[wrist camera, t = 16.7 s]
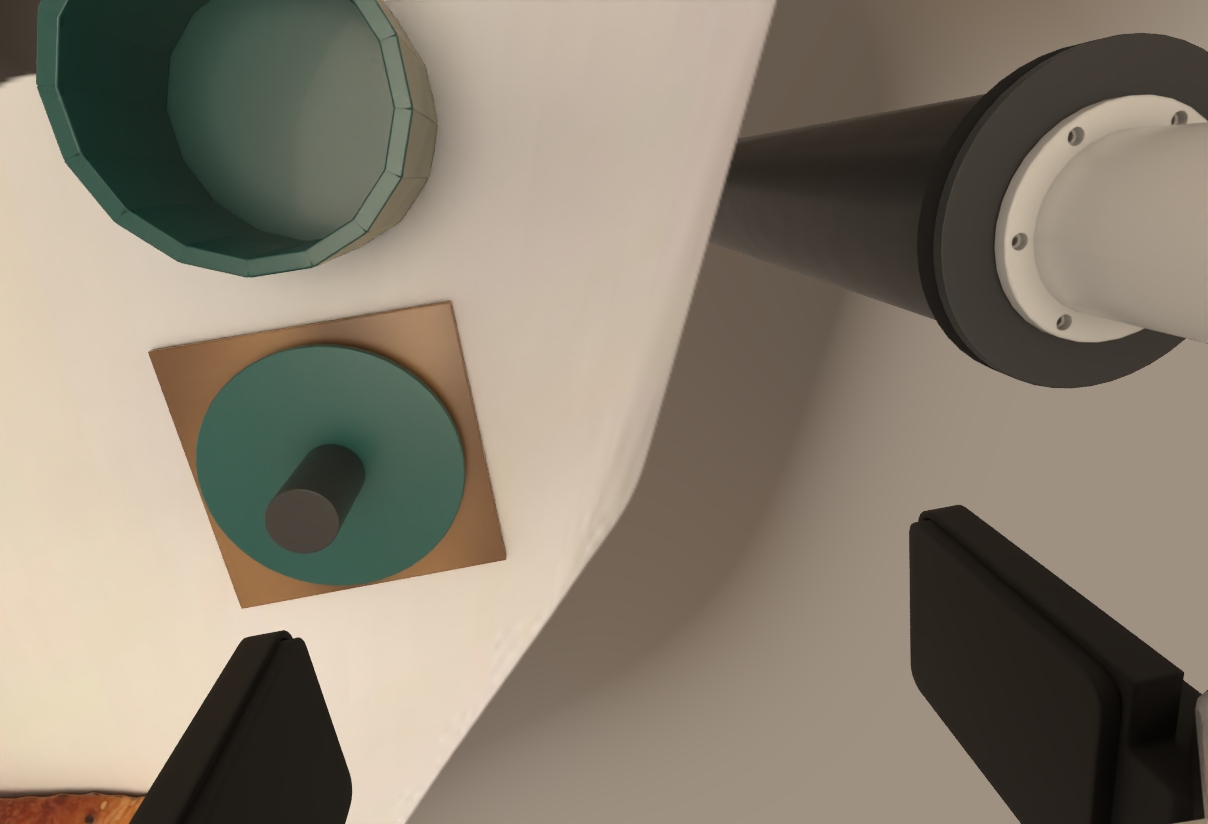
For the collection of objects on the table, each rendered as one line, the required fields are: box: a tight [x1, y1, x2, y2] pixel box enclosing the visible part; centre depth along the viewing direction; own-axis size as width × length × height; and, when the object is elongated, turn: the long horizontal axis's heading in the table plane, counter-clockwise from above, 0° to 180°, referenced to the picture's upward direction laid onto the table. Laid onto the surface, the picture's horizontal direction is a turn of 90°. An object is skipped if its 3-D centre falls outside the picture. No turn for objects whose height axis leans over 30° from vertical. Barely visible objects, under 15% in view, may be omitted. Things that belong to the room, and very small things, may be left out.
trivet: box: [148, 301, 506, 609], centre depth 38 cm, size 15×15×1 cm
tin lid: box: [196, 344, 465, 586], centre depth 35 cm, size 13×13×7 cm
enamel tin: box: [36, 0, 437, 277], centre depth 29 cm, size 12×12×8 cm
